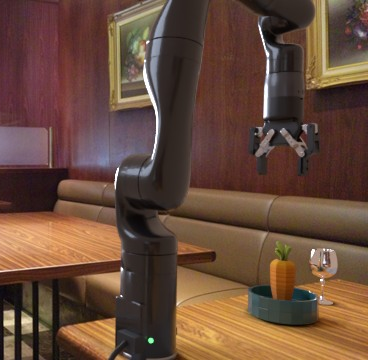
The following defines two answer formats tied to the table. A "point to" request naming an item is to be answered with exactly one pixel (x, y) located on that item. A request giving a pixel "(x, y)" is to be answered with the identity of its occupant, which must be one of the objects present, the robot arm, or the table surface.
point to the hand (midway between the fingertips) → (281, 175)
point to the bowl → (283, 306)
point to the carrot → (282, 274)
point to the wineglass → (323, 267)
